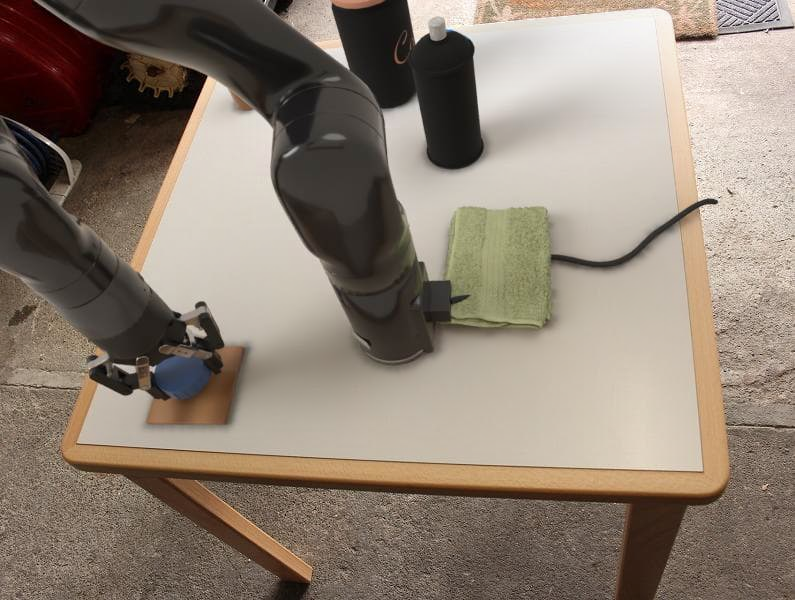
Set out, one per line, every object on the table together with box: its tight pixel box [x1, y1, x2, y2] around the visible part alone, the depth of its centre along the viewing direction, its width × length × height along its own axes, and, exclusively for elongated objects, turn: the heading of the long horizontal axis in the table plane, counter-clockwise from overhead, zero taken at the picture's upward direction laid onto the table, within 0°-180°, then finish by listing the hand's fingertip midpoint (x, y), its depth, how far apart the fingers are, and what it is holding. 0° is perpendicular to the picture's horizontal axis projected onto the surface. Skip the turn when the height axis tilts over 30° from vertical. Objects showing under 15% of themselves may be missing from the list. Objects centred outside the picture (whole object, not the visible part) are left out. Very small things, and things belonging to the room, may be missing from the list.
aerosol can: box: [408, 16, 485, 170], centre depth 79 cm, size 8×8×20 cm
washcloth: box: [439, 205, 554, 330], centre depth 73 cm, size 13×18×3 cm
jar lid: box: [153, 355, 211, 400], centre depth 70 cm, size 6×6×2 cm
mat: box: [145, 345, 246, 426], centre depth 73 cm, size 10×10×1 cm
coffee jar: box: [329, 0, 417, 110], centre depth 91 cm, size 11×11×18 cm
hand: (192, 380), depth 72 cm, fingers closed on jar lid, 6 cm apart
